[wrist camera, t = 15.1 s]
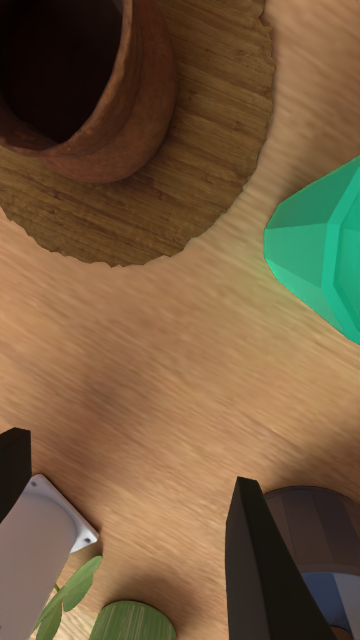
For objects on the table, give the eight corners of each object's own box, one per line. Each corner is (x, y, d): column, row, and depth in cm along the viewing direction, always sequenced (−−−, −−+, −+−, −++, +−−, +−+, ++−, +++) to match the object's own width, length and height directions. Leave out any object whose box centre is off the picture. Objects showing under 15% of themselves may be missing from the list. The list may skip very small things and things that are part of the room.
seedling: (82, 508, 32) (120, 555, 28) (28, 582, 30) (62, 645, 26) (39, 502, 27) (78, 560, 23) (-32, 593, 24) (-1, 675, 20)
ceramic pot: (95, 320, 20) (29, 365, 13) (-101, 86, 17) (-311, -10, 10) (345, 120, 14) (451, 22, 8) (119, -258, 12) (-15, -890, 5)
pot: (282, 598, 25) (298, 695, 19) (212, 516, 23) (209, 598, 18) (401, 560, 22) (458, 663, 17) (331, 464, 20) (368, 544, 15)
